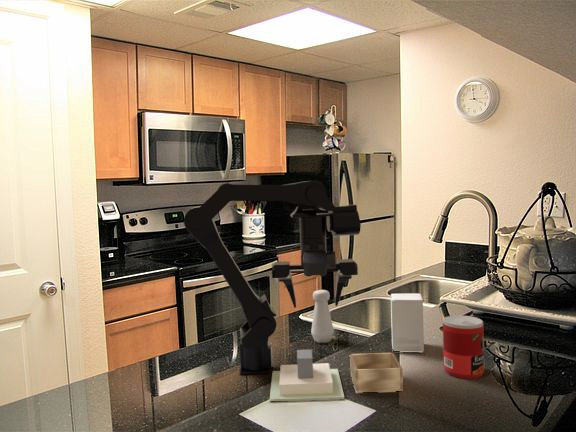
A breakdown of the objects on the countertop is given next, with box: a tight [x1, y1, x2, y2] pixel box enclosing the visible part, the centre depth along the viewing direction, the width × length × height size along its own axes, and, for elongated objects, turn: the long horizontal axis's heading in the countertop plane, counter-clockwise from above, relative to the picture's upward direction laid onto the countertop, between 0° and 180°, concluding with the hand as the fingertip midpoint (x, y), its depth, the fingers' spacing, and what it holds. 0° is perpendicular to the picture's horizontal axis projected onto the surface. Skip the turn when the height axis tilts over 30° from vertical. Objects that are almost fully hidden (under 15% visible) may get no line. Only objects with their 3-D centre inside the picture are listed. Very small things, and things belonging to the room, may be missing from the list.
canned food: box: [442, 314, 485, 380], centre depth 102 cm, size 8×8×11 cm
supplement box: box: [390, 293, 425, 352], centre depth 118 cm, size 7×7×13 cm
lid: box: [279, 349, 333, 395], centre depth 99 cm, size 10×10×6 cm
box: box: [349, 352, 404, 394], centre depth 98 cm, size 9×9×4 cm
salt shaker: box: [310, 289, 334, 344], centre depth 126 cm, size 6×6×13 cm
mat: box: [269, 368, 345, 402], centre depth 99 cm, size 14×14×1 cm
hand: (315, 306), depth 110 cm, fingers open, 9 cm apart
